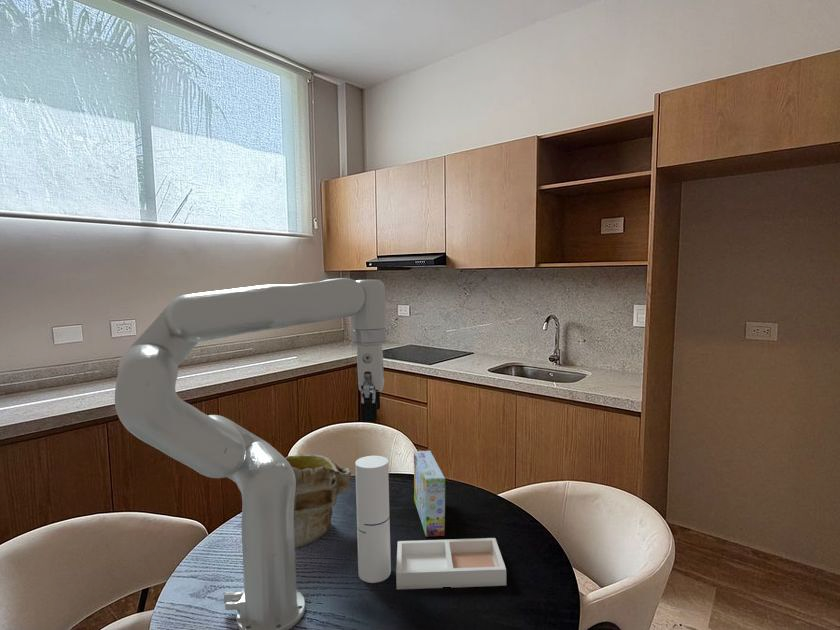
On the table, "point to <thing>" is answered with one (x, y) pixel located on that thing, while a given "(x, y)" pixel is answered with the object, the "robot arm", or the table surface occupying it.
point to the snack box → (429, 493)
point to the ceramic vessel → (315, 494)
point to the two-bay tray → (449, 563)
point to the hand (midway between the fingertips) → (371, 415)
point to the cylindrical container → (373, 518)
